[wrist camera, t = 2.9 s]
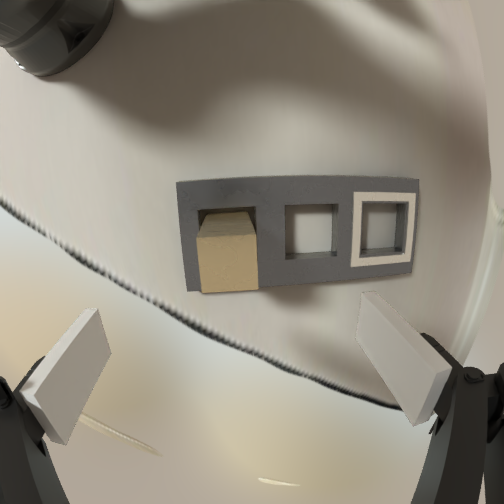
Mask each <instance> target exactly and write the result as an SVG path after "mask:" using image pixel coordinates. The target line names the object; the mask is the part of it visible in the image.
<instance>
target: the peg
mask: <svg viewBox="0 0 504 504" xmlns="http://www.w3.org/2000/svg"><path fill="white" fill-rule="evenodd" d="M196 241H197V251H198V261H199V271H200V280H201V289H202V293H211V292H228V291H244V290H258V267H257V240H256V232H255V230H254V227H253V225H252V222H251V220H250V217H249V215H248V212H247V211H243V212H226V213H210V214H207V215H206V217H205V219H204V222H203V224H202V226H201V228H200V231H199V233H198V235H197V237H196Z"/></svg>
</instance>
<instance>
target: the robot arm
mask: <svg viewBox="0 0 504 504" xmlns="http://www.w3.org/2000/svg"><path fill="white" fill-rule="evenodd" d="M112 11H113V0H0V46H1V47H3V48H5V49H6V51H7V52H8V53H9V54H10V55H11V56H12V57H13V58H14V60H15V62H16V64H17V65H18V66H19V67H20V68H21V69H22V70H24V71H26V72H28V73H31V74H33V75H37V76H48V75H52V74H55V73H58V72H60V71H62V70H64V69H66V68H68V67H70V66H71V65H73V64H74V63H75V62H77V61H78V60H79V59H80V58H82V57H83V56H84V55H85V54H86V53H87V52H88V51H89V50H90V49H91V48H92V47H93V46H94V45H95V43H96V42H97V41H98V40H99V38H100V37H101V35H102V34H103V32H104V31H105V29H106V27H107V25H108V23H109V21H110V18H111V15H112ZM355 339H356V341H357V342H358V344H359V345H360V346H361V348H362V349H363V351H364V352H365V354H366V355H367V357H368V358H369V360H370V361H371V363H372V364H373V366H374V367H375V369H376V370H377V372H378V373H379V375H380V376H381V378H382V379H383V381H384V382H385V384H386V385H387V387H388V388H389V390H390V391H391V393H392V394H393V396H394V398H395V399H396V401H397V402H398V404H399V405H400V407H401V408H402V410H403V412H404V413H405V414H406V416H407V418H408V419H409V421H410V422H411V424H412V425H413V426H416V425H418V424H421V423H424V422H426V421H428V420H429V418H430V417H431V415H432V413H433V411H435V412H436V414H437V415H438V417H437V419H436V421H435V423H434V424H433V426H432V428H431V430H430V432H429V434H431V433H432V431H433V433H432V438H431V442H430V445H429V449H428V453H427V456H426V460H425V463H424V467H423V470H422V473H421V476H420V479H419V482H418V485H417V488H416V491H415V493H414V496H413V499H412V501H411V504H478V500H479V494H480V489H481V484H482V477H483V472H484V482H485V498H486V504H504V363H502V364H501V365H500V367H499V369H498V371H497V373H495V374H488V375H485V374H484V373H483V372H482V371H481V370H479V369H478V368H474V367H464V368H463V367H462V366H461V365H460V364H459V363H458V362H457V361H456V360H455V359H454V358H453V357H452V356H451V355H450V354H449V353H448V352H447V351H445V349H444V348H443V347H442V346H441V345H440V344H439V343H438V342H437V341H436V340H435V339H434V338H433V337H431V336H429V335H427V334H425V333H421V334H419V333H418V332H417V331H416V330H415V329H414V328H413V327H412V326H411V325H410V324H409V323H408V322H407V321H406V320H405V319H404V318H403V317H402V316H401V315H400V314H399V313H397V312H396V311H395V310H394V309H393V308H392V307H391V306H390V305H389V304H388V303H387V302H386V301H385V300H384V299H383V298H382V297H381V296H380V295H378V294H377V293H376V292H375V291H371V292H363V293H361V301H360V310H359V317H358V324H357V331H356V338H355ZM110 355H111V350H110V347H109V344H108V341H107V338H106V335H105V331H104V328H103V325H102V321H101V318H100V314H99V310H98V309H85V310H84V311H83V312H82V313H81V315H80V316H79V317H78V318H77V319H76V320H75V321H74V323H73V324H72V325H71V326H70V327H69V329H68V330H67V331H66V332H65V333H64V335H63V336H62V337H61V338H60V339H59V341H58V342H57V343H56V344H55V345H54V347H53V348H52V349H51V350H50V352H49V353H48V354H47V355H46V356H44V357H42V358H41V359H39V360H38V361H37V362H36V363H35V364H34V365H33V366H32V368H31V370H29V371H28V373H27V375H26V376H25V377H24V378H23V379H22V381H21V382H20V383H19V385H18V386H17V387H16V389H15V390H14V391H13V393H12V391H11V389H10V387H9V386H8V384H7V382H6V380H5V379H4V378H3V377H1V376H0V504H70V503H69V501H68V499H67V497H66V495H65V492H64V490H63V488H62V486H61V483H60V481H59V478H58V476H57V474H56V471H55V468H54V466H53V463H52V460H51V458H50V455H49V452H48V449H47V446H46V443H45V442H44V440H43V439H42V437H43V435H44V433H46V434H47V436H48V437H49V438H50V440H51V441H52V442H56V443H59V444H63V445H67V442H68V440H69V438H70V436H71V433H72V431H73V429H74V427H75V425H76V422H77V421H78V418H79V416H80V414H81V412H82V410H83V408H84V406H85V404H86V402H87V400H88V398H89V396H90V394H91V391H92V390H93V388H94V386H95V384H96V382H97V380H98V378H99V376H100V374H101V372H102V370H103V369H104V367H105V365H106V363H107V361H108V359H109V357H110Z"/></svg>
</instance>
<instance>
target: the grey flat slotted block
mask: <svg viewBox="0 0 504 504" xmlns="http://www.w3.org/2000/svg"><path fill="white" fill-rule="evenodd" d="M176 188H177V201H178V213H179V224H180V234H181V244H182V253H183V262H184V270H185V278H186V286H187V291H202V289H201V280H200V271H199V261H198V251H197V241H196V237H197V235H198V233H199V231H200V228H201V223H200V210H201V209H216V208H232V207H250V206H254V213H255V232H256V240H257V267H258V287H269V286H283V285H295V284H307V283H319V282H330V281H340V280H350V279H360V278H370V277H379V276H388V275H397V274H406V273H411V272H412V265H413V257H414V249H415V240H416V229H417V216H418V198H419V179H413V178H399V177H380V176H350V175H284V176H252V177H232V178H216V179H202V180H189V181H179V182H176ZM363 203H397V218H396V233H395V245H394V247H389V248H374V249H361V240H362V219H363ZM298 204H332V246H331V251H329V252H313V253H298V254H285V205H298Z"/></svg>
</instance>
